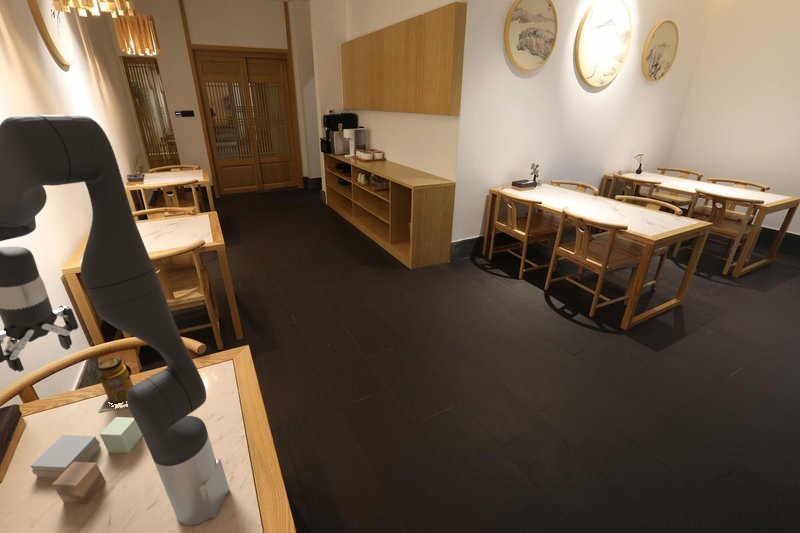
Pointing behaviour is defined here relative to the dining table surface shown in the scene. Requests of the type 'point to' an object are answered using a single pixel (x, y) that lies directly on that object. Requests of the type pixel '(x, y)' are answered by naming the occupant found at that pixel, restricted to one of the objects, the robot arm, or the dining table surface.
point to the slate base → (65, 455)
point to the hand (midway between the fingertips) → (43, 358)
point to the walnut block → (79, 482)
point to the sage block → (121, 435)
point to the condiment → (114, 382)
